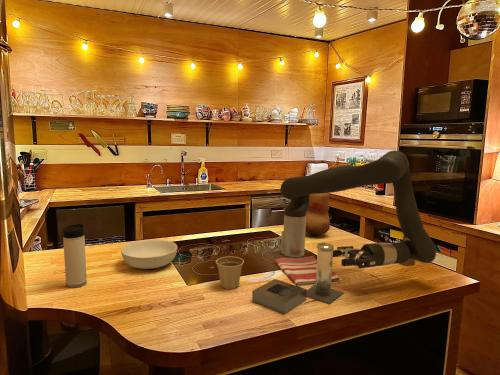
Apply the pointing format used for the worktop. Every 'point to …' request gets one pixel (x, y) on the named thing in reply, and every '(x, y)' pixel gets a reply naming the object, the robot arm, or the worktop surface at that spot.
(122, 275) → the worktop surface
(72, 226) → the travel mug
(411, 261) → the pepper mill
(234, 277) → the flower pot
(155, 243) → the serving bowl
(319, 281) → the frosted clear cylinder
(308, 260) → the dish towel
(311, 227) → the butternut squash
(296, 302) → the bore block
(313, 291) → the rubber mat
